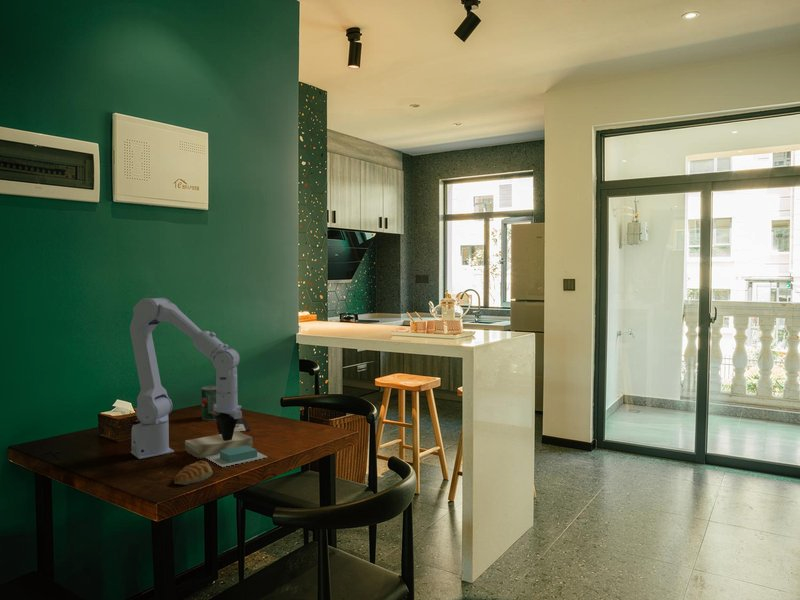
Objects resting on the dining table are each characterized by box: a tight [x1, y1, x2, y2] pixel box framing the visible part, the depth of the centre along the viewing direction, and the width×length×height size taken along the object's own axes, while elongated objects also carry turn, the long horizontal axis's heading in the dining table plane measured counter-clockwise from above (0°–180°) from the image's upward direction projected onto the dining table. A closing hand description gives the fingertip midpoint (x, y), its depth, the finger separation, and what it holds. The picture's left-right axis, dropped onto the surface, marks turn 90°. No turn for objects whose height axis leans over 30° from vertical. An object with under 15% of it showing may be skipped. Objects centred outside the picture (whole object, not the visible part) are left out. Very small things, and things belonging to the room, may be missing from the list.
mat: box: [203, 451, 269, 468], centre depth 155 cm, size 13×12×1 cm
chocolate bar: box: [219, 417, 251, 432], centre depth 191 cm, size 9×1×18 cm
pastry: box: [173, 460, 214, 486], centre depth 138 cm, size 9×7×4 cm
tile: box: [220, 445, 258, 463], centre depth 154 cm, size 8×6×2 cm
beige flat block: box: [184, 431, 254, 460], centre depth 163 cm, size 16×10×3 cm, turn 131°
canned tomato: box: [201, 385, 220, 421], centre depth 203 cm, size 8×8×11 cm
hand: (227, 439), depth 159 cm, fingers closed
